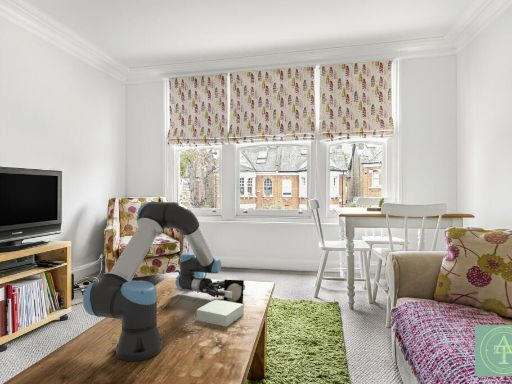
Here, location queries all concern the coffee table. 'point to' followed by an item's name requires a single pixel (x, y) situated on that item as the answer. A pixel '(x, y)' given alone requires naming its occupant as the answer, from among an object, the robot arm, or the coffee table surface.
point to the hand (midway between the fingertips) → (238, 290)
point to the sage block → (220, 312)
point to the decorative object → (234, 290)
